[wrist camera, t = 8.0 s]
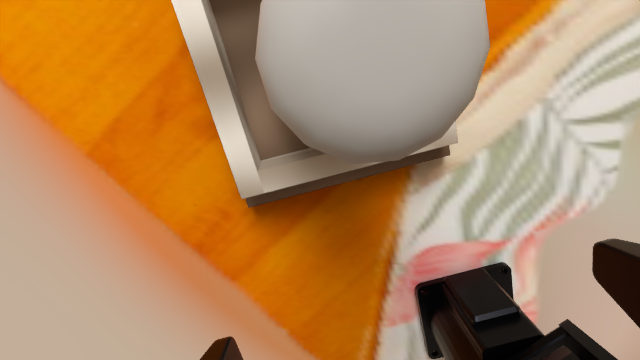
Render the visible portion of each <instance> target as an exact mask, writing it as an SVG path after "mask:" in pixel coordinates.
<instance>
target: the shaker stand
mask: <svg viewBox="0 0 640 360" xmlns="http://www.w3.org/2000/svg"><path fill="white" fill-rule="evenodd" d="M171 1H172V4H173V6H174V9H175V12H176V15H177V18H178V21H179V23H180V26H181V29H182V32H183V35H184V37H185V40H186V43H187V46H188V49H189V52H190V54H191V57H192V60H193V63H194V66H195V69H196V71H197V74H198V77H199V80H200V83H201V86H202V88H203V91H204V94H205V97H206V100H207V103H208V105H209V108H210V111H211V114H212V117H213V120H214V122H215V125H216V128H217V131H218V134H219V136H220V139H221V142H222V145H223V148H224V151H225V153H226V156H227V159H228V162H229V165H230V168H231V170H232V173H233V176H234V179H235V182H236V185H237V187H238V190H239V193H240V196H241V199H244V198H245V199H246V202H247V205H248V207H253V206H257V205H260V204H264V203H268V202H272V201H276V200H280V199H283V198H287V197H291V196H295V195H299V194H303V193H306V192H310V191H314V190H318V189H322V188H326V187H329V186H333V185H337V184H341V183H345V182H349V181H352V180H356V179H360V178H364V177H368V176H372V175H376V174H379V173H383V172H387V171H391V170H395V169H399V168H402V167H406V166H410V165H414V164H418V163H422V162H425V161H429V160H433V159H437V158H441V157H445V156H448V155H450V150H449V145H451V144H455V143H458V138H457V129H456V121H455V122H454V123H453V124H452V126H451V127H450V128H449V129H448V131H447V132H446V133H445V134H444V136H443V137H442V138H441V139H439V140H437V141H435V142H433V143H431V144H429V145H427V146H425V147H423V148H421V149H420V150H418V151H416V152H414V153H412V154H410V155H408V156H406V157H404V158H402V159H400V160H397V161H385V162H372V163H360V164H350V163H348V162H346V161H343V160H341V159H338V158H336V157H333V156H331V155H328V154H326V153H323V152H321V151H319V150H316V149H314V148H311V147H309V146H307V145H306V144H304V143H303V142H302V141H301V140H300V139H299V138H298V137H297V136H296V135H295V134H294V133H293V131H292V130H291V129H290V128H289V127H288V126H287V125H286V124H285V123H284V122H283V121H282V120H281V119H280V118H279V117H278V116H277V115H276V114H275V113H274V111H273V110H272V109H271V108H270V105H269V102H268V98H267V95H266V92H265V89H264V86H263V82H262V79H261V76H260V73H259V70H258V66H257V63H256V60H255V55H256V45H257V35H258V25H259V15H260V5H261V2H262V0H171Z"/></svg>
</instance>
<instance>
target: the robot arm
mask: <svg viewBox="0 0 640 360" xmlns="http://www.w3.org/2000/svg"><path fill="white" fill-rule="evenodd" d="M592 268H593V269H592V270H593V275H594V277H595V279H596V280H597V282H598V283H599V284H600V285H601V286H602V287H603V288H604V289H605V290H606V292H607V293H608V294H609V295H610V296H611V297H612V298H613V299H614V300H615V301H616V303H617V304H618V305H619V306H620V307H621V308H622V309H623V310H624V311H625V312H626V314H627V315H628V316H629V317H630V318H631V319H632V320H633V321H634V322H635V323H636V325H637V326H638V327H639V328H640V244H638V243H633V242H628V241H624V240H619V239H607V240H604V241H600V242H597V243H595V244H594V246H593V267H592ZM502 269H504V270H503V271H502V272H500V271H501V270H502ZM423 289H426V290H425V291H423V292H421V291H422V290H423ZM415 292H416V297H417V303H418V308H419V313H420V319H421V324H422V329H423V335H424V340H425V345H426V351H427V353H428V355H429V357H430V358H432V359H437V358H441V357H444V358H445V360H618V359H616V358H615V357H614V356H613V355H611V354H610V353H609V352H608V351H606V350H605V349H604V348H603V347H602V346H600V345H599V344H598V343H596V342H595V341H594V340H593V339H592V338H590V337H589V336H588V335H587V334H585V333H584V332H583V331H582V330H580V329H579V328H578V327H577V326H576V325H574V324H573V323H572V322H571V321H569V320H568V319H567V320H565V321H563V322H562V323H561V324H559V327H558V328H556V329H555V330H553V331H551V332H550V333H548V334H547V335H544V334H543V333H542V332H541V331H540V330H539V329H538V328H537V327H536V326H535V324H534V323H533V322H532V321H531V320H530V319H529V318H528V317H527V316H526V315H525V314H524V312H523V311H522V310H521V309H520V307H519V306H518V305H517V304H516V303H515V302H514V300H513V288H512V275H511V268H510V267H509V266H508V265H507V264H506V263H503V262H501V263H497V264H493V265H489V266H485V267H481V268H477V269H473V270H469V271H465V272H461V273H458V274H454V275H450V276H446V277H442V278H438V279H434V280H430V281H426V282H422V283H420V284H418V285H417V286H416V288H415ZM433 351H434V352H433ZM200 360H243V358H242V356H241V353H240V351H239V348H238V346H237V344H236V341H235V340H234V338H233V337H225V338H222V339H218V340H216V341H215V342H214V343H213V344H212V345H211V346H210V347H209V349H208V350H207V351H206V352H205V354H204V355H203V356H202V358H201V359H200Z"/></svg>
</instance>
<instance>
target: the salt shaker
mask: <svg viewBox="0 0 640 360" xmlns="http://www.w3.org/2000/svg"><path fill="white" fill-rule="evenodd" d="M489 48H490V41H489V33H488V24H487V16H486V7H485V0H262V2H261V5H260V15H259V25H258V35H257V45H256V55H255V60H256V63H257V66H258V70H259V73H260V76H261V79H262V82H263V86H264V89H265V92H266V95H267V98H268V102H269V105H270V108H271V109H272V110H273V111H274V113H275V114H276V115H277V116H278V117H279V118H280V119H281V120H282V121H283V122H284V123H285V124H286V125H287V126H288V127H289V128H290V129H291V130H292V131H293V133H294V134H295V135H296V136H297V137H298V138H299V139H300V140H301V141H302V142H303V143H304V144H306V145H307V146H309V147H311V148H314V149H316V150H319V151H321V152H323V153H326V154H328V155H331V156H333V157H336V158H338V159H341V160H343V161H346V162H348V163H350V164H360V163H372V162H385V161H397V160H400V159H402V158H404V157H406V156H408V155H410V154H412V153H414V152H416V151H418V150H420V149H421V148H423V147H425V146H427V145H429V144H431V143H433V142H435V141H437V140H439V139H441V138H442V137H443V136H444V134H445V133H446V132H447V131H448V129H449V128H450V127H451V126H452V124H453V123H454V122H455V121H456V119H457V118H458V117H459V116H460V114H461V113H462V112H463V111H464V109H465V108H466V107H467V106H468V104H469V103H470V102H471V101H472V99H473V98H474V95H475V92H476V89H477V86H478V83H479V80H480V76H481V73H482V70H483V67H484V64H485V61H486V58H487V54H488V51H489Z"/></svg>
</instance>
